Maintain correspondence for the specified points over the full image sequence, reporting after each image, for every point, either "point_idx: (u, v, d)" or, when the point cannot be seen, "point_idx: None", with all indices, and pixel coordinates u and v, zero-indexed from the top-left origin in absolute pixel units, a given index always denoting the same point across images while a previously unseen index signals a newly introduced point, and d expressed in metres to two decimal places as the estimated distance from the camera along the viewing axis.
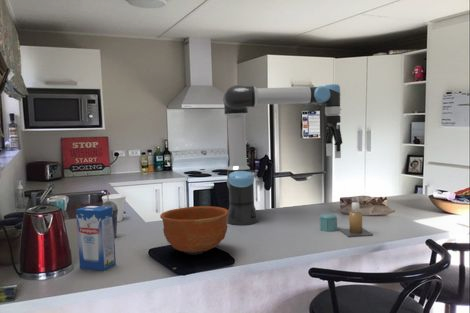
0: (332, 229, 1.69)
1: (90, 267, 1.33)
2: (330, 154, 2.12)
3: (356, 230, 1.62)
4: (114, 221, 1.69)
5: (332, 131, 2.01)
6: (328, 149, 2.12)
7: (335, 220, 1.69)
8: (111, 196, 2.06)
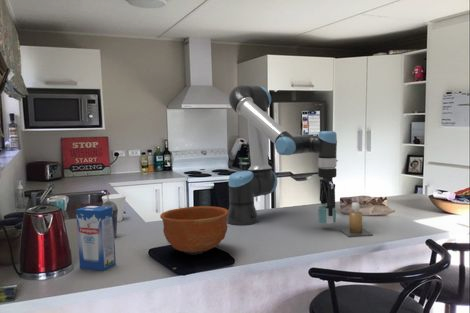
0: None
1: (90, 267, 1.33)
2: None
3: (356, 230, 1.62)
4: (114, 221, 1.69)
5: (325, 189, 1.68)
6: None
7: (334, 212, 1.70)
8: (111, 196, 2.06)
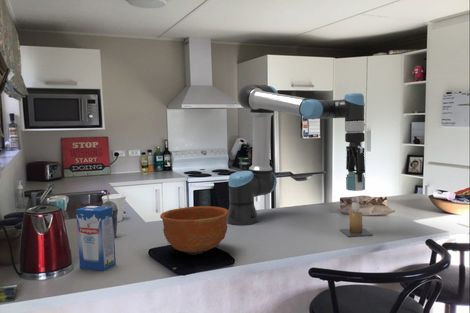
0: None
1: (90, 267, 1.33)
2: None
3: (356, 230, 1.62)
4: (114, 221, 1.69)
5: (354, 154, 1.59)
6: None
7: (363, 179, 1.61)
8: (111, 196, 2.06)
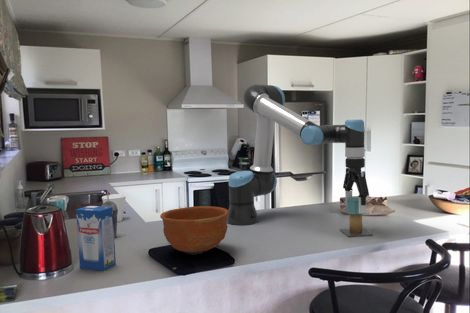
0: None
1: (90, 267, 1.33)
2: None
3: (356, 230, 1.62)
4: (114, 221, 1.69)
5: (355, 178, 1.59)
6: None
7: None
8: (111, 196, 2.06)
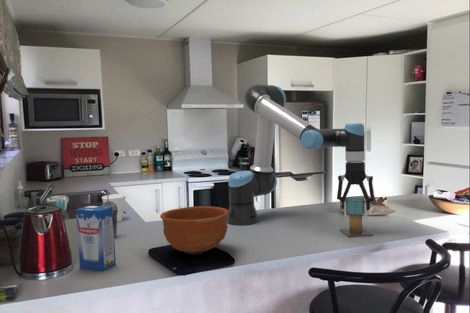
0: (360, 212, 1.61)
1: (90, 267, 1.33)
2: None
3: (356, 230, 1.62)
4: (114, 221, 1.69)
5: (362, 183, 1.60)
6: None
7: (363, 203, 1.61)
8: (111, 196, 2.06)
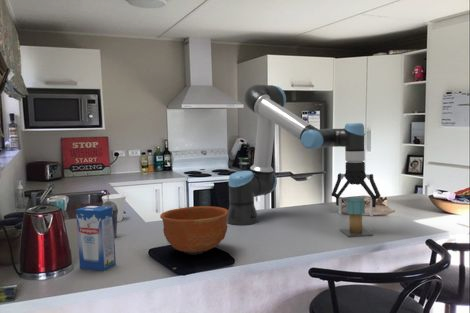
0: (351, 212, 1.61)
1: (90, 267, 1.33)
2: (341, 211, 1.67)
3: (356, 230, 1.62)
4: (114, 221, 1.69)
5: (363, 182, 1.60)
6: (340, 205, 1.66)
7: (356, 203, 1.60)
8: (111, 196, 2.06)
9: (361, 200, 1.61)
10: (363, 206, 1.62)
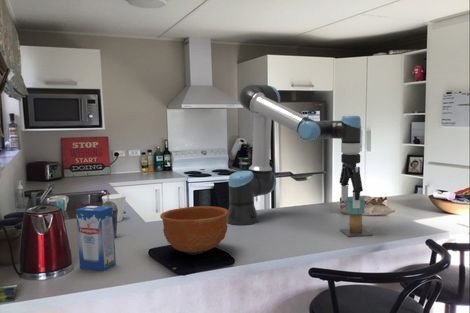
0: None
1: (90, 267, 1.33)
2: (346, 199, 1.73)
3: (356, 230, 1.62)
4: (114, 221, 1.69)
5: (350, 174, 1.62)
6: (343, 193, 1.73)
7: (348, 202, 1.62)
8: (111, 196, 2.06)
9: None
10: None
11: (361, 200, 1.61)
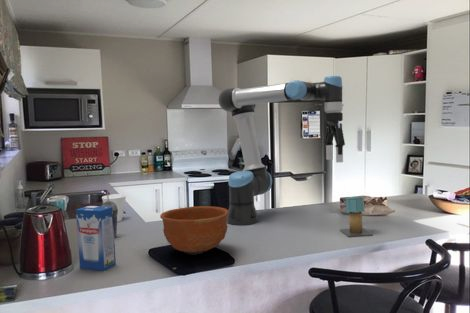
0: None
1: (90, 267, 1.33)
2: (331, 157, 1.82)
3: (356, 230, 1.62)
4: (114, 221, 1.69)
5: (333, 131, 1.71)
6: (328, 152, 1.82)
7: (347, 201, 1.64)
8: (111, 196, 2.06)
9: (351, 198, 1.62)
10: (354, 204, 1.61)
11: (359, 198, 1.62)
